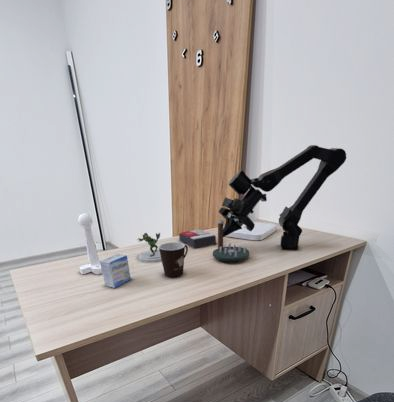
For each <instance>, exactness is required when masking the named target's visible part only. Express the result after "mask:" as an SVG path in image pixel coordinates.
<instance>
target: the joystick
mask: <svg viewBox="0 0 394 402" xmlns="http://www.w3.org/2000/svg"><path fill="white" fill-rule="evenodd" d="M77 221H78V224H79V225H80V227H82V229H83V233H84V240H85V246H86V253H87V258H88V263H86V264H83V265H80V266H78V269H79V273H80V274H81V275H86V274H89V273H93V274H94V275H103V273H102V269H101V264H100V261H101V260H100V257H99V254H98V251H97V246H96V243H95V239H94V235H93V232H92V229H91V226H92V225H93V218H92V217H91V216H90V214H88V213H81V214H79V216H78V218H77Z"/></svg>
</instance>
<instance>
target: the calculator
mask: <svg viewBox="0 0 394 402" xmlns="http://www.w3.org/2000/svg"><path fill="white" fill-rule="evenodd" d="M216 237H217V236H216V234H212V233H210V232H208V231H205V230H202V229H193V230H188V231H183V232H182V231H181V232H180V233H178V238H179V241H180V242H181V243H182V242H183V243H184V244H187V245H189V246H190V247H191V248H193V249H197V248H202V247H207V246H213V245H216V244H217V238H216Z"/></svg>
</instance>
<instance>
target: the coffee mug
mask: <svg viewBox="0 0 394 402" xmlns="http://www.w3.org/2000/svg"><path fill="white" fill-rule="evenodd" d="M158 250H160V255H161V260H162V261H161V263H162V268H163V272H164V273H163V274H164V276H165V277H166V278H168V279H177V278H181V277H183V275H184V266H185V258H186V256H187V255H188V250H189V248H188V245H186V244H185V243H182V242H176V241H171V242H164V243H161V244H160V245H159V246H158Z"/></svg>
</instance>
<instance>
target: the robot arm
mask: <svg viewBox="0 0 394 402" xmlns="http://www.w3.org/2000/svg"><path fill="white" fill-rule="evenodd" d="M314 159H315V160H318V161H320V162H319V164H318V167H317V170H316V172H315V173H314V175H313V176H312V177H311V179H310V180H309V182H308V183H307V185H306V186H305V188H304V189H303V190H302V192H301V193H300V194H299V196H298V197H297V199H296V200H295V201H294V203H293V204H292V205H291V206H290V207H288V206H285V207H284V208H283V209H282V212H281V213H279V218H278V225H279V226H280V227H281V228H282V235H281V236H280V243H279V245H280V248H281V250H282V251H283V250H284V251H286V250H287V251H298V250H299V242H300V236H301V235H302V233H303V229H302V228H301V226H300V225H298V224H299V223H300V221H301V218H302V215H303V213H304V210H305V209H306V208H307V206H308V205H309V204H310V202H311V201H312V199H313V198H314V197H315V195H316V194H317V193H318V192H319V190H320V189H321V188H322V186H323V185H324V183H325V182H326V180H327V179H328V178H329V177H330V176H332V175H333V174H334V173H335V172H337V171H338V170H339V169H340V168H341V167H342V166H343V165H344V163H345V162H346V160H347V153H346V151H345V149H344V148H339V147H338V148H337V147H336V148H335V147H331V148H325V147H322V146H319V145H317V144H316V145H315V144H311V145H308V146H307V147H306V148H305V149H304V150H302V151H301V152H299V153H297V154H296V155H294V156H293V157H291V158H290V159H289V160H287V161H286V162H284V163H282V164H281V165H280V166H278V167H275V168H273V169H270V170H267V171H265V172H263V173H261V174H260V175H259V176H258V177H255V178H250V177H249V176H248V175H247V174H246V172H244V171H243V169H240V170H239V171H238V172H237V173H235V175H234V176H233V177H232V178H231V179H230V180H229V182H228V186H229V187H230V188H231V189H232V190H234V192H235V193H236V194H237V195H238V196H240V195H241V194H242V195H243V197H242V198H241V199H239V198H234V199H231V198H228V197H225V196H224V199H223V201H222V203H221V206H222V207H221V208H220V209H219V210H218V212H219V214H220V215H221V216H222V217H223V219H225V222H224V223H225V224H224V225H223V227H224V229H223V238H224V237H227V235H229V234H230V233H232V232H235V231H237V230H239V229H242V225H243V224H244V225H245V226H246V227H247V230H249V231H252V230H253V229H254V226H255V224H254V223H253V222H254V221H252V219H251V218H250V217H249V215H250V214H254V213H255V211H254V209H255V207H257V205H258V204H259V202H260V201H261V202H267V201H268V199H267V193H268V192H271V191H273V190H274V189H275V188H276V187H278V185H279V184H280V183H281V182H282V180H283V179H285V178H286V177H287V176H289V175H291V174H292V173H293V172H295V171H296V170H298V169H299V168H301V167H302V166H305V165H306V164H307V163H309V162H310V161H312V160H314ZM262 191H263V192H265V193H263V192H262ZM266 192H267V193H266Z"/></svg>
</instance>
